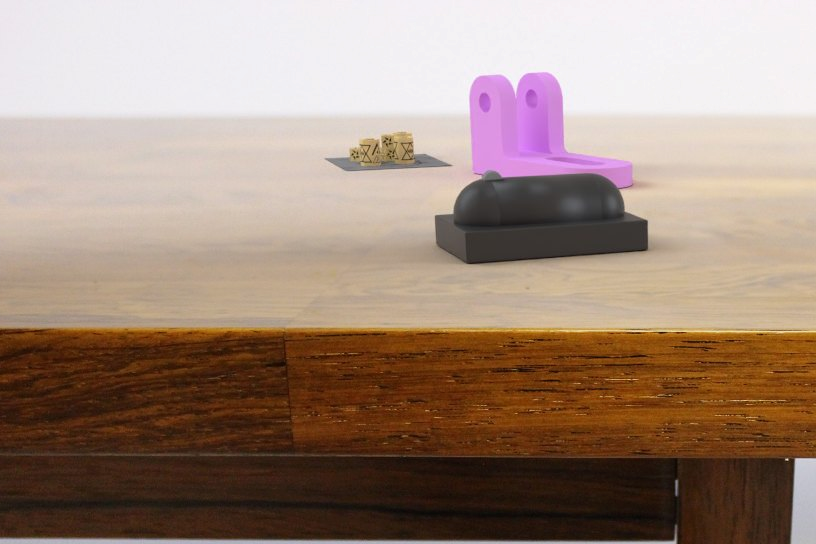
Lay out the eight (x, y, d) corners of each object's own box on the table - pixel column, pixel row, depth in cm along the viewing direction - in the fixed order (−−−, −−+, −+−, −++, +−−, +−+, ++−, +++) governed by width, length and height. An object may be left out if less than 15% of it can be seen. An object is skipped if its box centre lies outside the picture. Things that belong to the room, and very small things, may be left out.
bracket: (472, 172, 108) (468, 74, 106) (533, 166, 112) (530, 70, 110) (587, 191, 99) (584, 85, 97) (649, 184, 103) (648, 81, 101)
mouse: (466, 263, 75) (462, 180, 74) (435, 244, 80) (431, 165, 79) (648, 249, 79) (647, 170, 78) (608, 232, 84) (606, 157, 83)
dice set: (410, 156, 117) (409, 131, 117) (427, 163, 113) (426, 138, 112) (346, 159, 115) (344, 134, 115) (361, 166, 111) (359, 140, 110)
